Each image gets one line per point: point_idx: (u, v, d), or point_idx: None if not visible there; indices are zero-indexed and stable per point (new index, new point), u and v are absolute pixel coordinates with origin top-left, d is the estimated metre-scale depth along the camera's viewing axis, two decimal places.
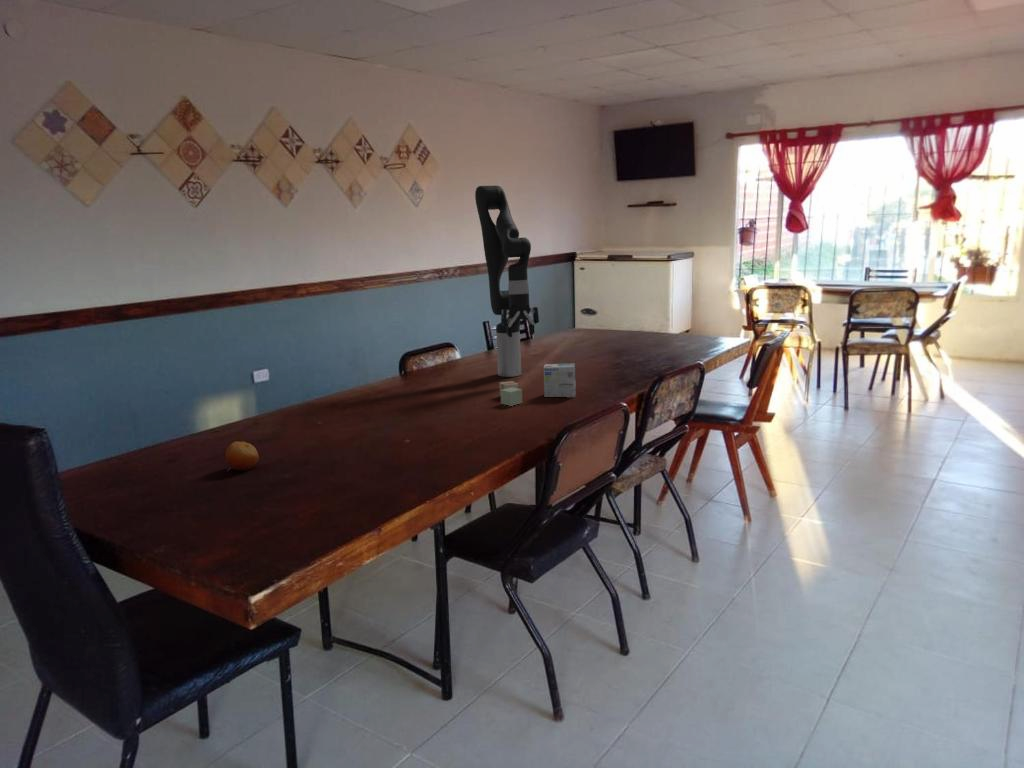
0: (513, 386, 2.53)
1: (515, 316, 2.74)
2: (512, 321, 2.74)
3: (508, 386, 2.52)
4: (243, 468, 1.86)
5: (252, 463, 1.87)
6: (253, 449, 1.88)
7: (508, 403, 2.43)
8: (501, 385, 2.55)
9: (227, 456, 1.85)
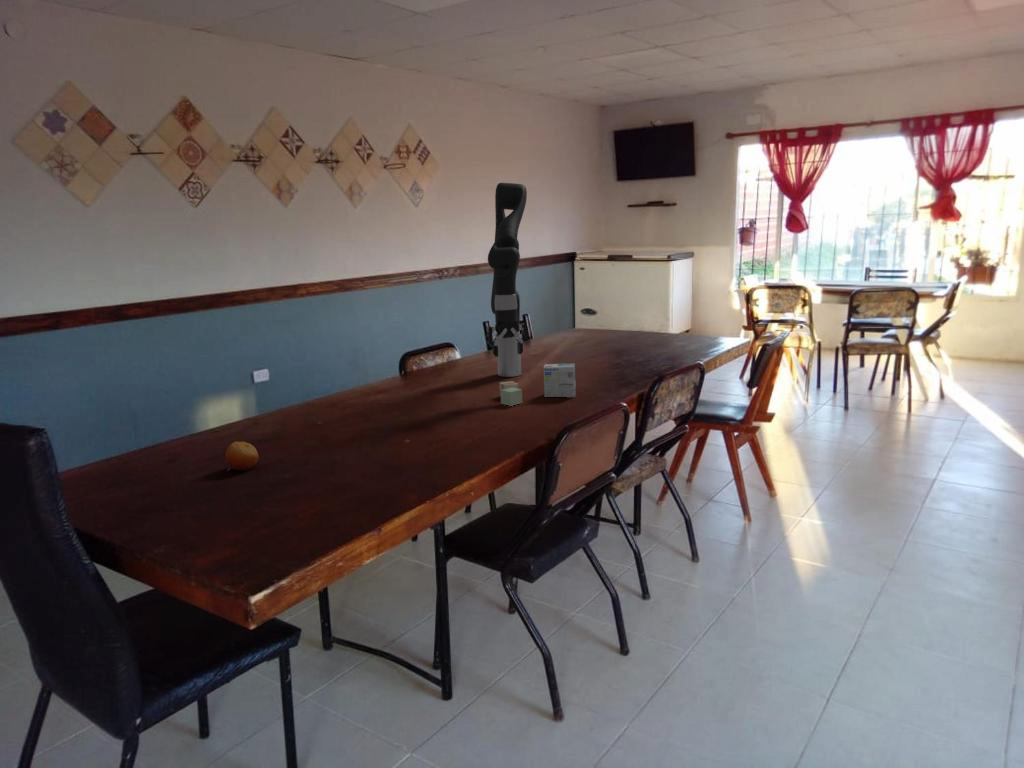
0: (513, 386, 2.53)
1: (502, 334, 2.49)
2: (498, 339, 2.49)
3: (508, 386, 2.52)
4: (243, 468, 1.86)
5: (252, 463, 1.87)
6: (253, 449, 1.88)
7: (508, 403, 2.43)
8: (501, 385, 2.55)
9: (227, 456, 1.85)
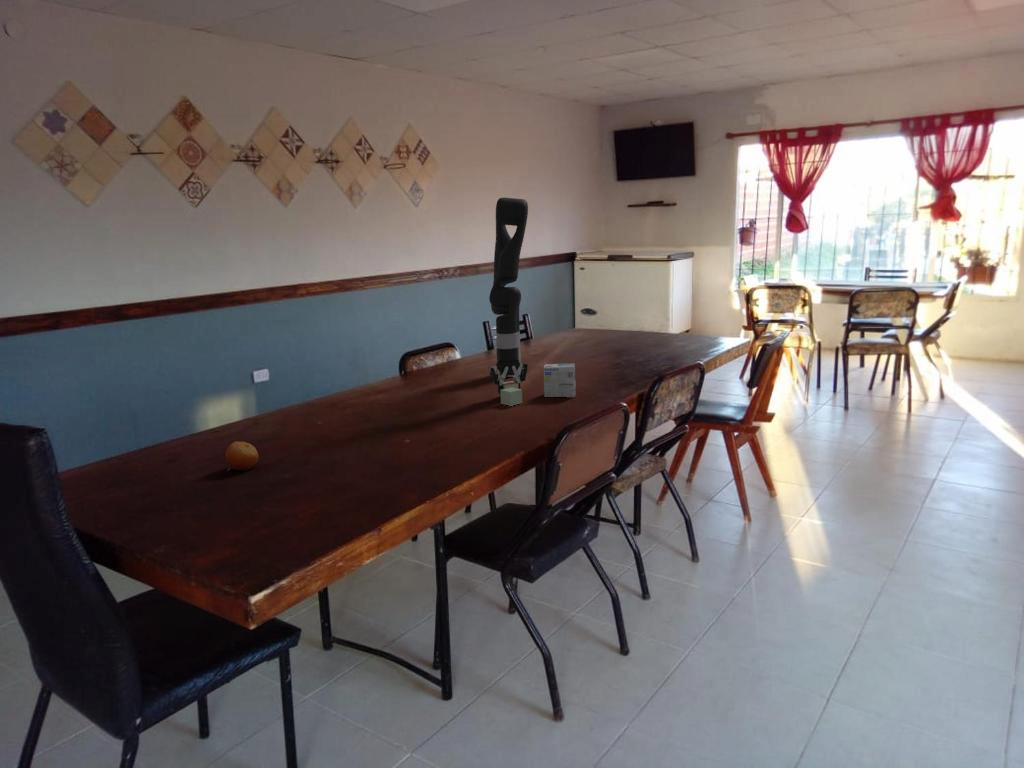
0: (513, 386, 2.53)
1: (504, 372, 2.52)
2: (502, 378, 2.52)
3: (508, 386, 2.52)
4: (243, 468, 1.86)
5: (252, 463, 1.87)
6: (253, 449, 1.88)
7: (508, 403, 2.43)
8: None
9: (227, 456, 1.85)
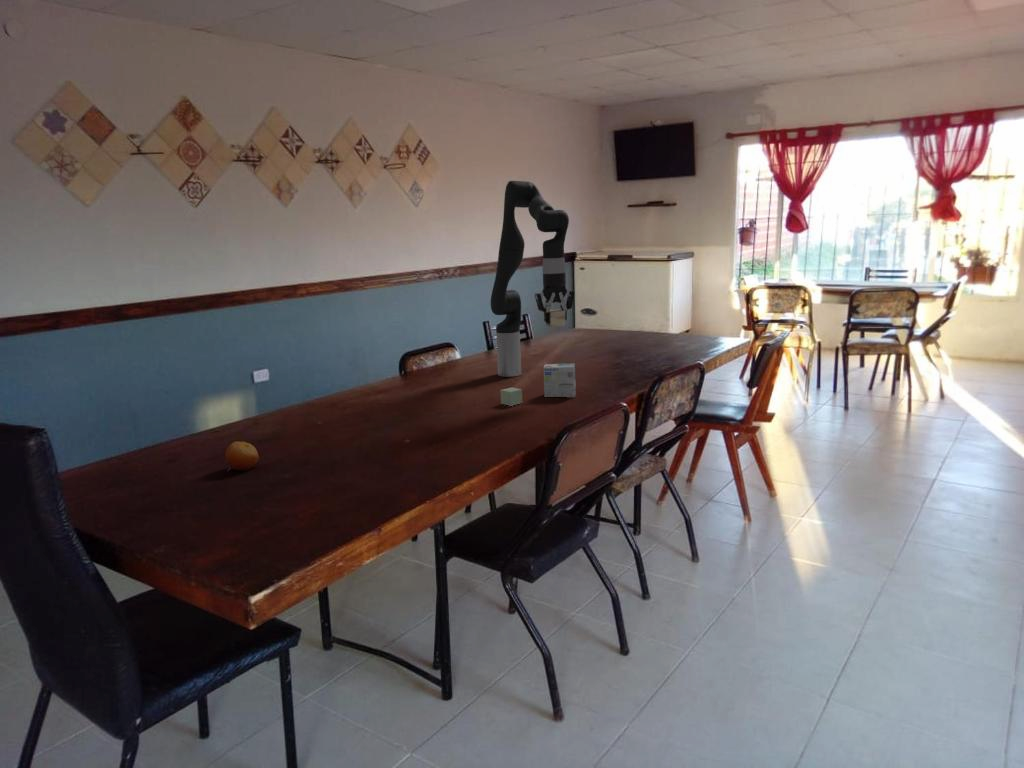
0: (560, 313, 2.47)
1: (551, 299, 2.46)
2: (549, 305, 2.46)
3: (555, 313, 2.46)
4: (243, 468, 1.86)
5: (252, 463, 1.87)
6: (253, 449, 1.88)
7: (508, 403, 2.43)
8: None
9: (227, 456, 1.85)
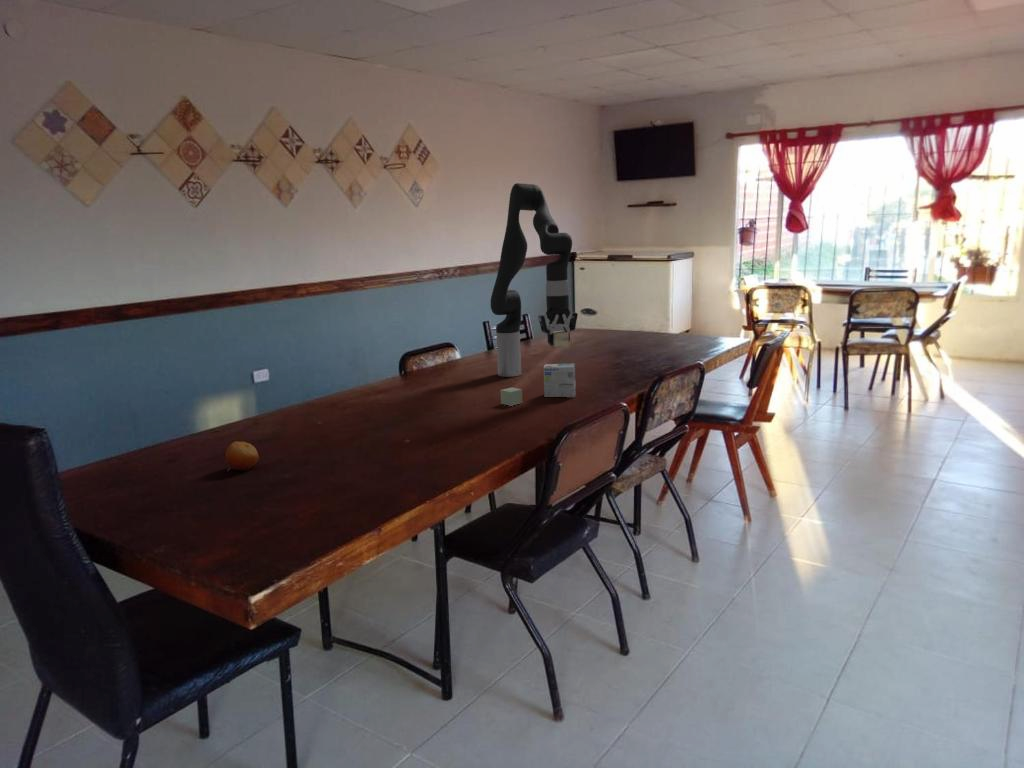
0: (563, 335, 2.49)
1: (554, 321, 2.47)
2: (553, 327, 2.48)
3: (558, 334, 2.48)
4: (243, 468, 1.86)
5: (252, 463, 1.87)
6: (253, 449, 1.88)
7: (508, 403, 2.43)
8: None
9: (227, 456, 1.85)
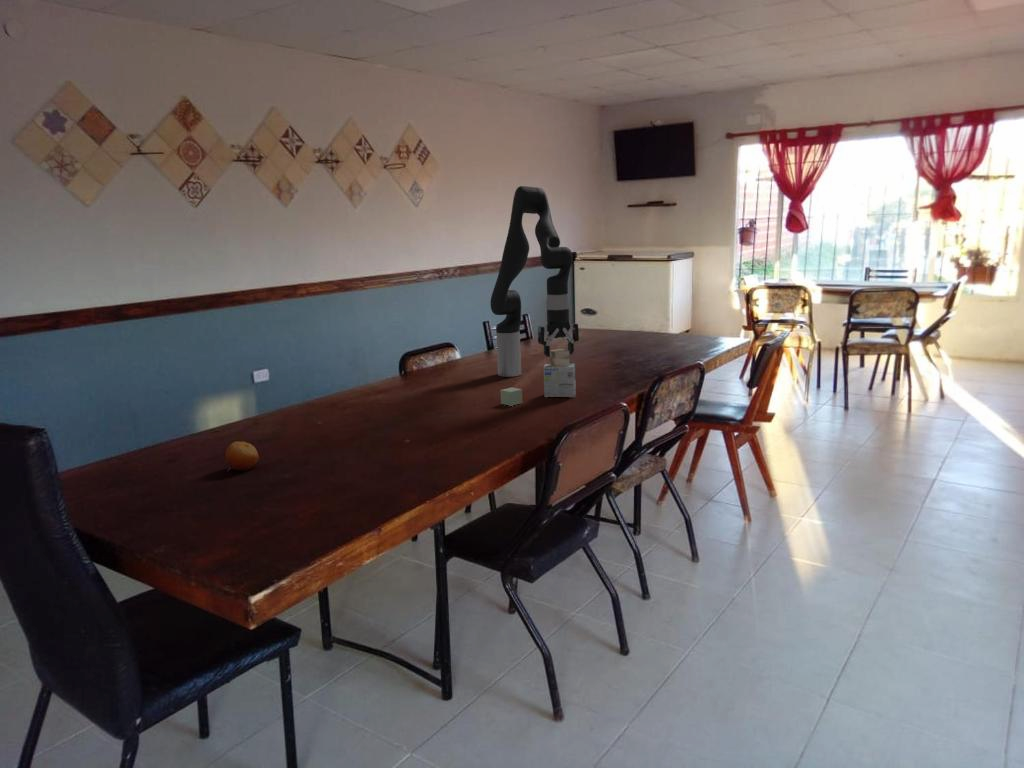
0: (564, 353, 2.50)
1: (554, 334, 2.48)
2: (550, 339, 2.48)
3: (559, 353, 2.49)
4: (243, 468, 1.86)
5: (252, 463, 1.87)
6: (253, 449, 1.88)
7: (508, 403, 2.43)
8: (552, 352, 2.51)
9: (227, 456, 1.85)
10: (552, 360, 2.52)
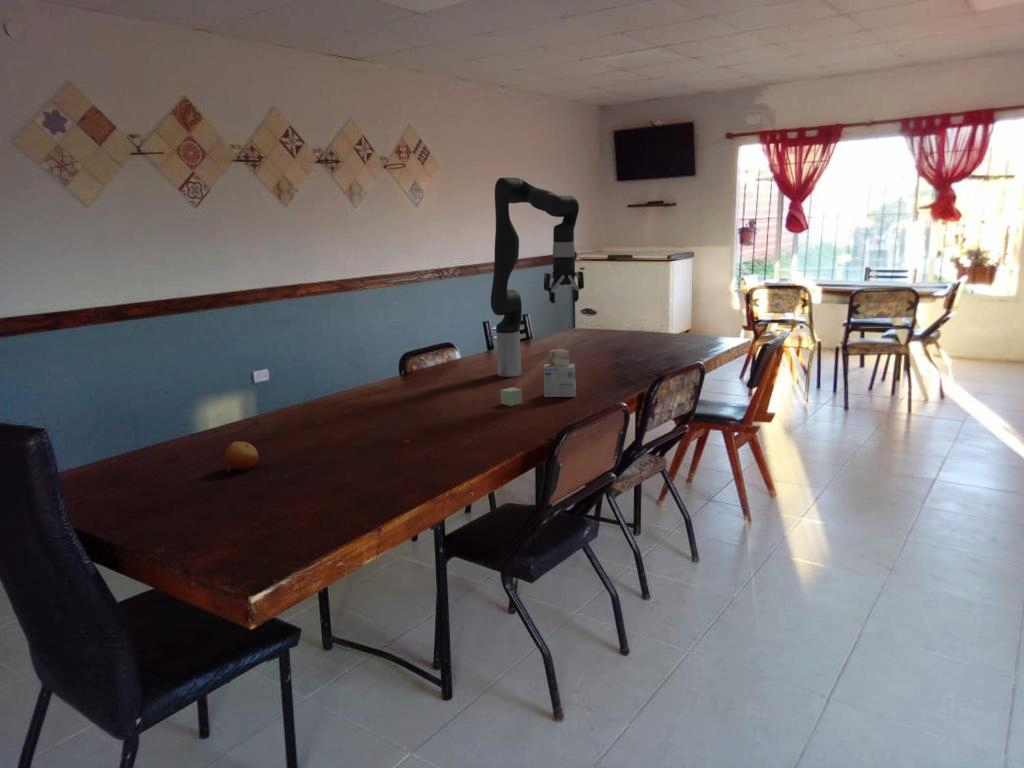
0: (564, 353, 2.50)
1: (559, 281, 2.55)
2: (555, 286, 2.56)
3: (559, 353, 2.49)
4: (243, 468, 1.86)
5: (252, 463, 1.87)
6: (253, 449, 1.88)
7: (508, 403, 2.43)
8: (552, 353, 2.51)
9: (227, 456, 1.85)
10: (552, 360, 2.52)
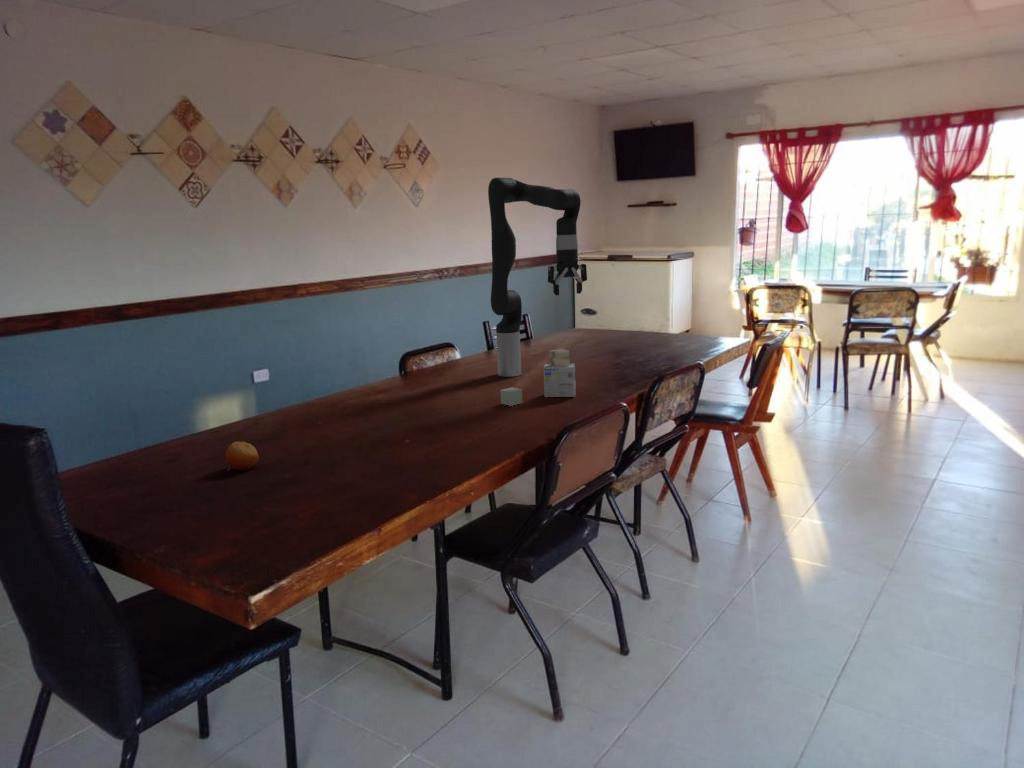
0: (564, 353, 2.50)
1: (563, 273, 2.60)
2: (559, 278, 2.60)
3: (559, 353, 2.49)
4: (243, 468, 1.86)
5: (252, 463, 1.87)
6: (253, 449, 1.88)
7: (508, 403, 2.43)
8: (552, 353, 2.51)
9: (227, 456, 1.85)
10: (552, 360, 2.52)
